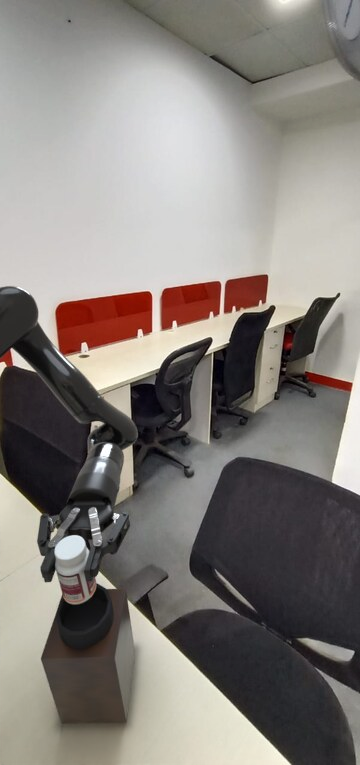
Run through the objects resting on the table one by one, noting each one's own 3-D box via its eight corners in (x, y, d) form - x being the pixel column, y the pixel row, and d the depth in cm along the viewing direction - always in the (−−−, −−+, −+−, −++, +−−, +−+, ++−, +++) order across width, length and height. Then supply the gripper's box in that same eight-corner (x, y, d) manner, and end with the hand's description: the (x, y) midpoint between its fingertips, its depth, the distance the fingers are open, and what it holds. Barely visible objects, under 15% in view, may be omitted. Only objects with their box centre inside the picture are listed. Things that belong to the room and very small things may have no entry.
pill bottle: (85, 568, 54) (76, 527, 51) (103, 588, 51) (95, 545, 47) (56, 590, 51) (44, 547, 48) (73, 613, 48) (62, 568, 44)
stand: (60, 723, 54) (40, 658, 48) (78, 651, 63) (63, 589, 57) (126, 722, 54) (114, 657, 47) (135, 650, 63) (125, 588, 57)
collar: (51, 649, 49) (47, 636, 48) (68, 595, 56) (65, 582, 55) (108, 648, 48) (105, 635, 47) (117, 594, 56) (115, 581, 55)
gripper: (51, 471, 60) (5, 558, 45) (135, 469, 60) (119, 555, 44) (59, 506, 63) (18, 598, 48) (139, 504, 63) (125, 596, 47)
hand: (67, 577), depth 46 cm, fingers closed on pill bottle, 4 cm apart
